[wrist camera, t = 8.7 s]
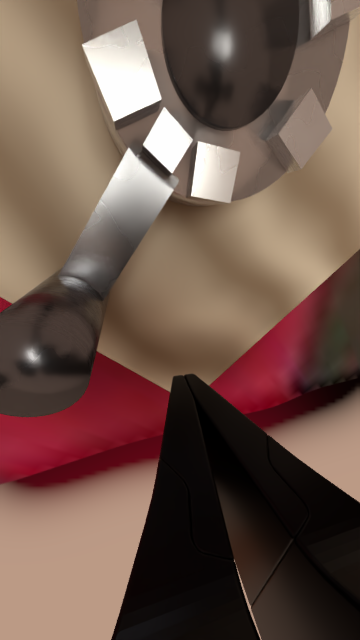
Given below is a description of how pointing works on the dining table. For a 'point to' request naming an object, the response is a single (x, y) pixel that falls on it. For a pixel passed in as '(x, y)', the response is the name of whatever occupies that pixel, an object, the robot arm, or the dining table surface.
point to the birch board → (162, 211)
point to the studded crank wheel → (173, 152)
